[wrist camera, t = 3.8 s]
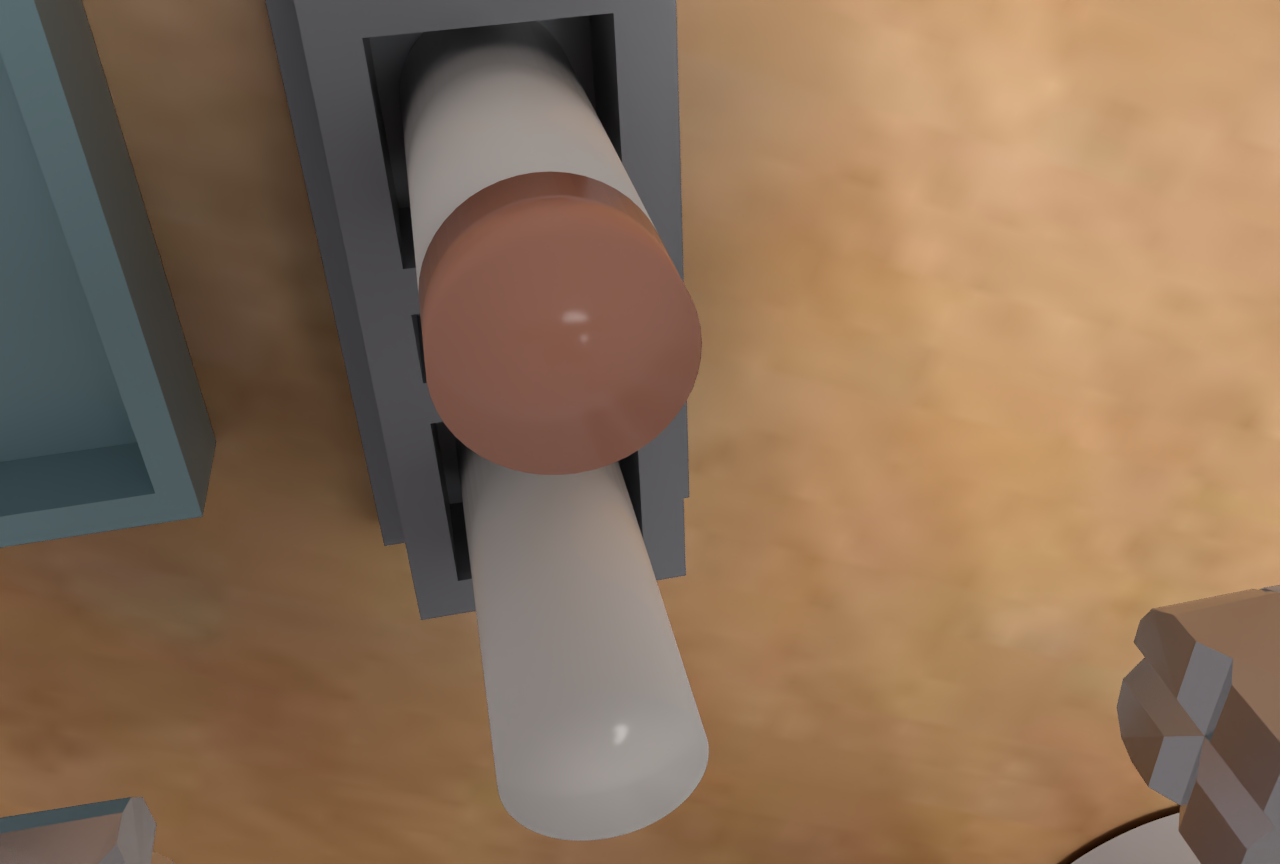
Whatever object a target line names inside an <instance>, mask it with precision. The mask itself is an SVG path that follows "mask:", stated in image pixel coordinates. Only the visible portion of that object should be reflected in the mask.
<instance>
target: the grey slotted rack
mask: <svg viewBox="0 0 1280 864" xmlns="http://www.w3.org/2000/svg"><path fill="white" fill-rule="evenodd" d="M265 2H266V6H267V11H268V15H269V20H270V24H271V29H272V34H273V38H274V43H275V47H276V52H277V56H278V61H279V66H280V70H281V75H282V79H283V84H284V88H285V93H286V98H287V102H288V107H289V111H290V116H291V120H292V125H293V130H294V134H295V139H296V143H297V148H298V152H299V157H300V162H301V166H302V171H303V175H304V180H305V184H306V189H307V194H308V198H309V203H310V207H311V212H312V216H313V221H314V226H315V230H316V235H317V239H318V244H319V248H320V253H321V258H322V262H323V267H324V271H325V276H326V280H327V285H328V290H329V294H330V299H331V303H332V308H333V312H334V317H335V322H336V326H337V331H338V335H339V340H340V344H341V349H342V354H343V358H344V363H345V367H346V372H347V376H348V381H349V386H350V390H351V395H352V399H353V404H354V409H355V413H356V418H357V422H358V427H359V431H360V436H361V441H362V445H363V450H364V454H365V459H366V463H367V468H368V473H369V477H370V482H371V486H372V491H373V495H374V500H375V505H376V509H377V514H378V518H379V523H380V527H381V532H382V537H383V541H384V546H387V545H393V544H400V543H405V544H406V549H407V554H408V558H409V563H410V568H411V573H412V578H413V583H414V588H415V593H416V597H417V602H418V607H419V612H420V617H421V620H424V619H430V618H436V617H442V616H448V615H454V614H460V613H466V612H472V611H476V607H475V599H474V590H473V582H472V574H471V566H470V558H469V550H468V541H467V533H466V525H465V517H464V509H463V500H462V492H461V484H460V476H459V468H458V460H457V451H456V443H455V436H454V435H453V433H452V432H451V431H450V430H449V429H448V427H447V426H446V425H445V424H444V422H443V420H442V419H441V417H440V415H439V414H438V412H437V411H436V408H435V406H434V403H433V401H432V399H431V396H430V393H429V389H428V385H427V381H426V371H425V360H424V349H423V338H422V328H421V317H420V306H419V295H418V284H417V274H416V263H415V252H414V241H413V231H412V220H411V209H410V198H409V187H408V177H407V166H406V155H405V144H404V133H403V123H402V112H401V101H400V82H401V76H402V71H403V68H404V65H405V62H406V59H407V57H408V55H409V53H410V51H411V49H412V48H413V46H414V44H415V43H416V41H417V40H418V39H419V38H420V37H421V35H422V34H423V33H424V32H428V31H438V30H448V29H458V28H468V27H478V26H488V25H498V24H508V23H519V22H529V21H537V22H538V23H539V24H541V25H542V26H543V27H545V28H546V29H547V30H548V31H549V32H550V33H551V34H552V35H553V36H554V37H555V39H556V40H557V41H558V43H559V44H560V45H561V47H562V49H563V50H564V52H565V54H566V56H567V57H568V59H569V61H570V63H571V65H572V67H573V69H574V71H575V73H576V75H577V77H578V79H579V81H580V83H581V85H582V87H583V89H584V91H585V92H586V94H587V96H588V98H589V100H590V102H591V104H592V106H593V108H594V110H595V112H596V114H597V116H598V118H599V120H600V122H601V124H602V126H603V127H604V129H605V131H606V133H607V135H608V137H609V139H610V141H611V143H612V145H613V147H614V149H615V151H616V153H617V155H618V157H619V159H620V161H621V162H622V164H623V166H624V168H625V170H626V172H627V174H628V176H629V178H630V180H631V182H632V184H633V186H634V188H635V190H636V192H637V194H638V196H639V197H640V199H641V201H642V203H643V205H644V207H645V209H646V211H647V213H648V215H649V217H650V219H651V221H652V223H653V225H654V227H655V229H656V231H657V232H658V234H659V236H660V238H661V240H662V242H663V244H664V246H665V248H666V250H667V252H668V254H669V256H670V258H671V260H672V262H673V264H674V265H675V267H676V269H677V271H678V273H679V275H680V277H681V279H682V281H683V283H684V280H683V242H682V205H681V167H680V129H679V91H678V54H677V16H676V0H265ZM618 463H619V466H620V469H621V472H622V475H623V478H624V481H625V484H626V488H627V491H628V494H629V497H630V500H631V503H632V506H633V509H634V512H635V516H636V519H637V522H638V525H639V528H640V531H641V534H642V537H643V541H644V544H645V547H646V550H647V553H648V556H649V559H650V562H651V565H652V569H653V572H654V575H655V578H656V580H661V579H667V578H673V577H679V576H685V575H686V567H685V533H684V500H683V498H688V497H689V469H688V431H687V400H686V402H685V404H684V405H683V407H682V408H681V410H680V411H679V413H678V414H677V416H676V417H675V418H674V419H673V420H672V421H671V423H670V424H669V425H668V426H667V427H666V428H665V429H664V430H663V431H662V432H661V433H660V434H659V435H658V436H657V437H656V438H654V439H653V440H652V441H651V442H649V443H648V444H647V445H645V446H644V447H642V448H641V449H640V450H638V451H636V452H634V453H633V454H631V455H629V456H627V457H626V458H624V459H621V460H619V461H618Z"/></svg>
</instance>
